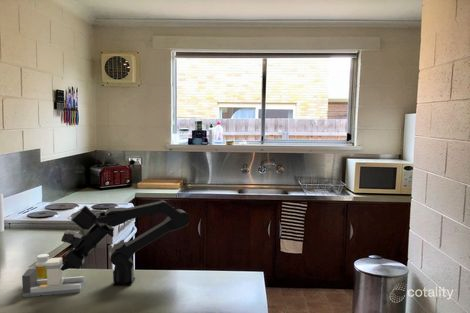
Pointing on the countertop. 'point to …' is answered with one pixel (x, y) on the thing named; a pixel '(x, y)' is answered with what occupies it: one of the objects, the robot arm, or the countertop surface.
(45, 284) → the track
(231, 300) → the countertop surface
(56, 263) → the cream banded box
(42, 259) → the supplement bottle
